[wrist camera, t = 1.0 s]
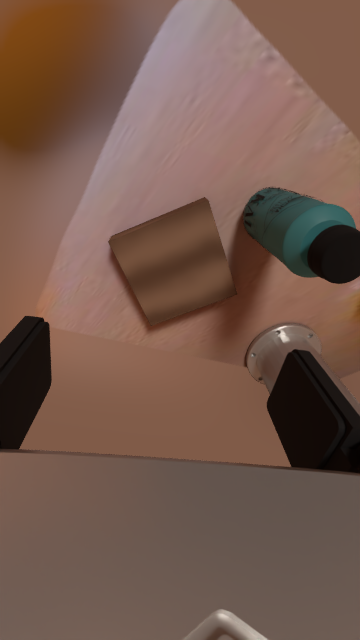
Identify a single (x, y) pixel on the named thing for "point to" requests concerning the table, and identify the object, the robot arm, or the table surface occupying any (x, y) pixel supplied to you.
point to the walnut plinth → (175, 262)
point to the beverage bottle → (305, 234)
